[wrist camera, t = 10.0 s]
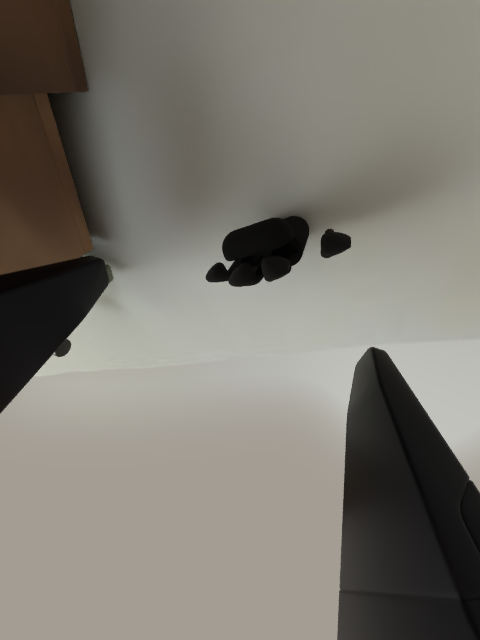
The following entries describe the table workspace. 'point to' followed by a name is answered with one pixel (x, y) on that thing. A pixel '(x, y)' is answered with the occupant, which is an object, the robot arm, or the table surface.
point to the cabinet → (39, 48)
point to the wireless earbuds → (270, 250)
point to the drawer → (37, 191)
